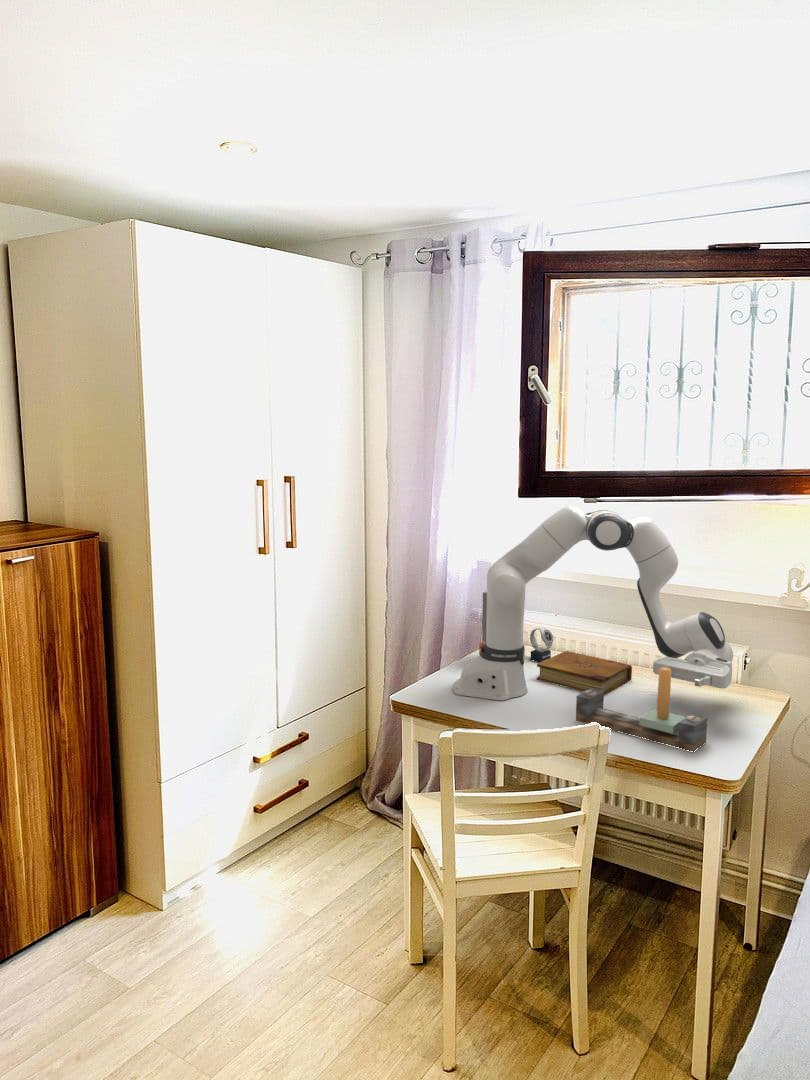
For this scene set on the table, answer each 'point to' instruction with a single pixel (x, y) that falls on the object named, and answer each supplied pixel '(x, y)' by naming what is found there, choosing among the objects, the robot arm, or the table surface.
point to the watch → (541, 653)
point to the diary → (584, 672)
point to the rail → (592, 711)
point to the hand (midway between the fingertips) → (679, 679)
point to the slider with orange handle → (662, 707)
